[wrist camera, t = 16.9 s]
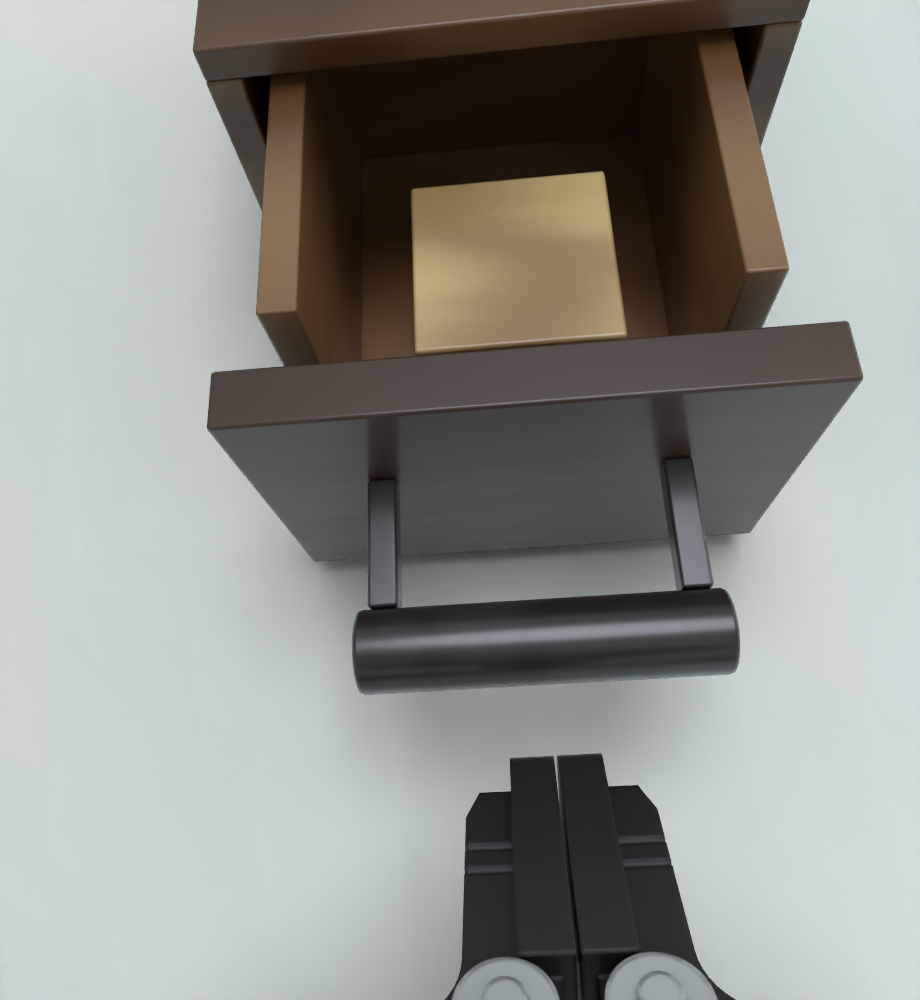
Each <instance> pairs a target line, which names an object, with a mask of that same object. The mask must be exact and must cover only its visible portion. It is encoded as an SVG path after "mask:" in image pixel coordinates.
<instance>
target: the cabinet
mask: <svg viewBox="0 0 920 1000" xmlns="http://www.w3.org/2000/svg"><path fill="white" fill-rule="evenodd" d="M809 2H810V0H198V9H197V18H196V27H195V35H194V44H193V53H194V55H195V57H196V60H197V62H198V64H199V66H200V69H201V71H202V73H203V76H204V78H205V80H206V81H207V86H208V88H209V90H210V93H211V95H212V97H213V100H214V102H215V104H216V107H217V109H218V111H219V113H220V116H221V118H222V120H223V123H224V125H225V127H226V130H227V132H228V134H229V136H230V139H231V141H232V143H233V146H234V148H235V150H236V153H237V155H238V157H239V159H240V162H241V164H242V166H243V169H244V171H245V173H246V176H247V178H248V180H249V182H250V185H251V187H252V189H253V192H254V194H255V196H256V198H257V201H258V203H259V205H260V208H261V210H262V209H263V193H264V177H265V160H266V144H267V128H268V112H269V96H270V80H271V75H275V74H285V73H295V72H304V71H314V70H324V69H334V68H343V67H353V66H363V65H373V64H383V63H392V62H402V61H412V60H422V59H432V58H441V57H451V56H461V55H471V54H480V53H490V52H500V51H510V50H520V49H529V48H539V47H549V46H559V45H568V44H578V43H588V42H598V41H608V40H617V39H627V38H637V37H647V36H657V35H666V34H676V33H686V32H696V31H705V30H715V29H725V28H732V30H733V35H734V39H735V43H736V47H737V51H738V56H739V60H740V64H741V68H742V72H743V77H744V81H745V85H746V89H747V93H748V97H749V102H750V106H751V110H752V114H753V118H754V123H755V127H756V131H757V135H758V139H759V143H760V147H761V144H762V141H763V138H764V135H765V132H766V129H767V126H768V123H769V120H770V117H771V114H772V111H773V108H774V105H775V102H776V100H777V97H778V94H779V91H780V88H781V85H782V82H783V79H784V76H785V73H786V70H787V67H788V64H789V61H790V58H791V55H792V52H793V49H794V46H795V43H796V40H797V37H798V34H799V31H800V28H801V25H802V20H803V18H804V16H805V13H806V10H807V7H808V5H809Z"/></svg>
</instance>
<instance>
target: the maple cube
mask: <svg viewBox="0 0 920 1000" xmlns="http://www.w3.org/2000/svg"><path fill="white" fill-rule="evenodd" d="M411 226H412V267H413V307H414V347H415V355H416V356H420V355H432V354H445V353H457V352H470V351H482V350H494V349H507V348H519V347H531V346H544V345H556V344H569V343H581V342H593V341H606V340H618V339H627V328H626V320H625V313H624V306H623V299H622V292H621V285H620V278H619V271H618V264H617V257H616V250H615V243H614V236H613V229H612V222H611V214H610V207H609V200H608V193H607V186H606V179H605V174H604V173H603V172H602V171H598V172H587V173H576V174H565V175H555V176H544V177H533V178H522V179H511V180H501V181H490V182H479V183H468V184H457V185H447V186H436V187H425V188H414V189H412V191H411Z"/></svg>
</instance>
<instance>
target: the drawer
mask: <svg viewBox="0 0 920 1000" xmlns="http://www.w3.org/2000/svg"><path fill="white" fill-rule="evenodd" d="M598 171H602V172H603V173H604V174H605V179H606V186H607V193H608V200H609V207H610V214H611V222H612V229H613V236H614V243H615V250H616V257H617V264H618V271H619V278H620V285H621V292H622V299H623V306H624V313H625V320H626V328H627V339H618V340H606V341H593V342H581V343H569V344H556V345H544V346H531V347H519V348H507V349H494V350H482V351H470V352H457V353H445V354H432V355H420V356H416V355H415V347H414V307H413V267H412V226H411V191H412V189H414V188H425V187H436V186H447V185H457V184H468V183H479V182H490V181H501V180H511V179H522V178H533V177H544V176H555V175H565V174H576V173H587V172H598ZM788 270H789V265H788V261H787V256H786V252H785V248H784V244H783V240H782V235H781V231H780V227H779V223H778V219H777V215H776V210H775V206H774V202H773V198H772V194H771V189H770V185H769V181H768V177H767V173H766V169H765V164H764V160H763V156H762V152H761V148H760V143H759V139H758V135H757V131H756V127H755V123H754V118H753V114H752V110H751V106H750V102H749V97H748V93H747V89H746V85H745V81H744V77H743V72H742V68H741V64H740V60H739V56H738V51H737V47H736V43H735V39H734V35H733V30H732V28H725V29H715V30H705V31H696V32H686V33H676V34H666V35H657V36H647V37H637V38H627V39H617V40H608V41H598V42H588V43H578V44H568V45H559V46H549V47H539V48H529V49H520V50H510V51H500V52H490V53H480V54H471V55H461V56H451V57H441V58H432V59H422V60H412V61H402V62H392V63H383V64H373V65H363V66H353V67H343V68H334V69H324V70H314V71H304V72H295V73H285V74H275V75H271V80H270V96H269V112H268V128H267V144H266V160H265V177H264V193H263V209H262V225H261V241H260V257H259V273H258V289H257V305H256V314H257V316H258V318H259V320H260V322H261V324H262V326H263V328H264V329H265V331H266V333H267V335H268V337H269V339H270V341H271V343H272V344H273V346H274V348H275V350H276V352H277V354H278V356H279V358H280V359H281V361H282V363H283V365H284V367H271V368H259V369H247V370H234V371H222V372H214V373H212V375H211V385H210V397H209V409H208V421H207V429H208V431H209V432H210V433H211V434H212V436H213V437H214V438H215V439H216V441H217V442H218V443H219V444H220V446H221V447H222V448H223V449H224V450H225V452H226V453H227V454H228V455H229V457H230V458H231V459H232V460H233V462H234V463H235V464H236V465H237V467H238V468H239V469H240V470H241V471H242V473H243V474H244V475H245V476H246V478H247V479H248V480H249V481H250V483H251V484H252V485H253V486H254V488H255V489H256V490H257V491H258V492H259V494H260V495H261V496H262V497H263V499H264V500H265V501H266V502H267V504H268V505H269V506H270V507H271V509H272V510H273V511H274V512H275V513H276V515H277V516H278V517H279V518H280V520H281V521H282V522H283V523H284V525H285V526H286V527H287V528H288V530H289V531H290V532H291V533H292V534H293V536H294V537H295V538H296V539H297V541H298V542H299V543H300V544H301V546H302V547H303V548H304V549H305V551H306V552H307V553H308V554H309V555H310V557H311V558H312V559H313V560H314V561H316V562H318V561H333V560H348V559H363V558H368V606H369V608H370V610H362V611H360V612H358V613H357V615H356V618H355V621H354V626H353V635H352V658H353V669H354V676H355V680H356V684H357V687H358V689H359V691H360V693H362V694H364V695H373V694H391V693H408V692H426V691H444V690H462V689H479V688H497V687H515V686H533V685H550V684H568V683H586V682H604V681H621V680H639V679H657V678H675V677H692V676H710V675H728V674H732V673H734V672H735V671H736V669H737V667H738V662H739V656H740V634H739V626H738V620H737V615H736V611H735V607H734V604H733V602H732V599H731V597H730V595H729V594H728V592H727V591H726V590H725V589H722V588H711V587H712V586H713V578H712V572H711V566H710V560H709V554H708V548H707V542H706V536H710V535H725V534H741V533H749V532H751V530H752V529H753V528H754V526H755V525H756V524H757V522H758V521H759V520H760V518H761V517H762V515H763V514H764V513H765V511H766V510H767V509H768V507H769V506H770V505H771V503H772V502H773V501H774V499H775V498H776V496H777V495H778V494H779V492H780V491H781V490H782V488H783V487H784V486H785V484H786V483H787V482H788V480H789V479H790V478H791V476H792V475H793V473H794V472H795V471H796V469H797V468H798V467H799V465H800V464H801V463H802V461H803V460H804V459H805V457H806V456H807V454H808V453H809V452H810V450H811V449H812V448H813V446H814V445H815V444H816V442H817V441H818V440H819V438H820V437H821V435H822V434H823V433H824V431H825V430H826V429H827V427H828V426H829V425H830V423H831V422H832V421H833V419H834V418H835V417H836V415H837V414H838V412H839V411H840V410H841V408H842V407H843V406H844V404H845V403H846V402H847V400H848V399H849V398H850V396H851V395H852V393H853V392H854V391H855V389H856V388H857V387H858V385H859V384H860V383H861V381H862V380H863V374H862V370H861V366H860V363H859V359H858V355H857V351H856V347H855V344H854V340H853V336H852V332H851V329H850V325H849V323H848V322H847V321H841V322H829V323H816V324H804V325H792V326H779V327H767V328H762V327H763V325H764V323H765V320H766V318H767V316H768V314H769V312H770V310H771V307H772V305H773V303H774V301H775V299H776V296H777V294H778V292H779V290H780V288H781V286H782V283H783V281H784V279H785V277H786V275H787V273H788ZM665 538H669V540H670V547H671V554H672V560H673V567H674V574H675V581H676V587H677V591H663V592H647V593H631V594H615V595H599V596H583V597H567V598H551V599H535V600H519V601H503V602H487V603H471V604H455V605H439V606H423V607H407V608H402V589H401V556H409V555H424V554H439V553H454V552H469V551H484V550H499V549H514V548H529V547H544V546H560V545H575V544H590V543H605V542H620V541H635V540H650V539H665ZM710 588H711V589H710Z"/></svg>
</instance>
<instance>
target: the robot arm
mask: <svg viewBox="0 0 920 1000" xmlns="http://www.w3.org/2000/svg"><path fill="white" fill-rule="evenodd" d="M557 771H558V790H557V781H556V772H555V764H554V757H553V756H543V757H523V758H510V776H511V791H509V792H488V793H479V795H478V797H477V799H476V800H475V802H474V804H473V806H472V808H471V810H470V811H469V813H468V815H467V817H466V836H465V874H464V907H463V943H462V964H461V970H460V974H459V977H458V980H457V982H456V984H455V986H454V988H453V989H452V991H451V992H450V994H449V995H448V997H447V998H446V999H445V1000H735V999H734V998H732V997H731V996H729V995H728V994H726V993H725V992H724V991H722V990H721V989H720V988H719V987H718V986H716V985H715V983H714V982H713V981H712V980H711V979H710V978H709V977H708V975H707V974H706V973H705V971H704V970H703V968H702V967H701V965H700V963H699V961H698V959H697V956H696V953H695V950H694V946H693V942H692V938H691V935H690V931H689V927H688V923H687V920H686V916H685V912H684V908H683V904H682V901H681V897H680V893H679V889H678V885H677V882H676V878H675V874H674V870H673V867H672V866H671V859H670V855H669V851H668V848H667V844H666V842H665V836H664V832H663V829H662V825H661V821H660V817H659V814H658V810H657V808H656V807H655V805H654V804H653V803H652V802H651V801H650V799H649V798H648V797H647V796H646V795H645V793H644V792H643V791H642V790H641V789H640V787H639V786H638V785H632V786H610V787H608V783H607V777H606V772H605V767H604V762H603V758H602V754H601V753H599V754H579V755H559V756H557ZM558 791H559V799H558Z"/></svg>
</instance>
